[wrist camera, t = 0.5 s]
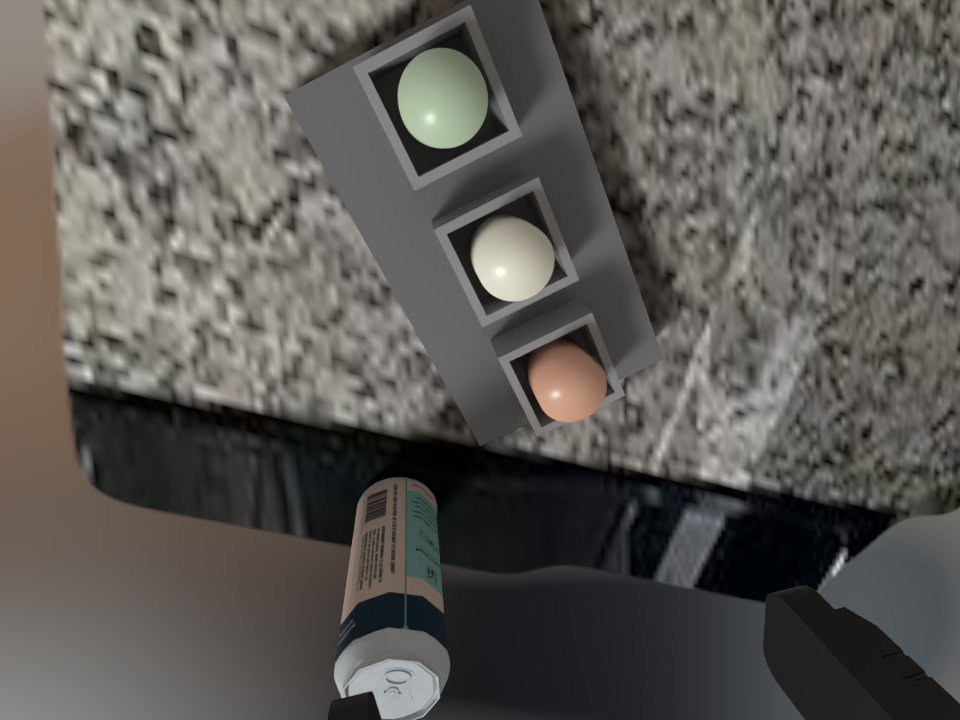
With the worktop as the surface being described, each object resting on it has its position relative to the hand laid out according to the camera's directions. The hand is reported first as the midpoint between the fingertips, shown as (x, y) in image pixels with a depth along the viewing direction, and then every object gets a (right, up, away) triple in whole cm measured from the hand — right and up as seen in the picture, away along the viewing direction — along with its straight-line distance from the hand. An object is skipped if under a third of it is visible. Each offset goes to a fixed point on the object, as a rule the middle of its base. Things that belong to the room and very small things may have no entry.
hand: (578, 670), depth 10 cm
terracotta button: (+2, +6, +16) cm, 17 cm away
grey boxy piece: (-1, +12, +16) cm, 20 cm away
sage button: (-4, +16, +11) cm, 20 cm away
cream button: (-1, +11, +13) cm, 17 cm away
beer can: (-7, -3, +22) cm, 23 cm away
